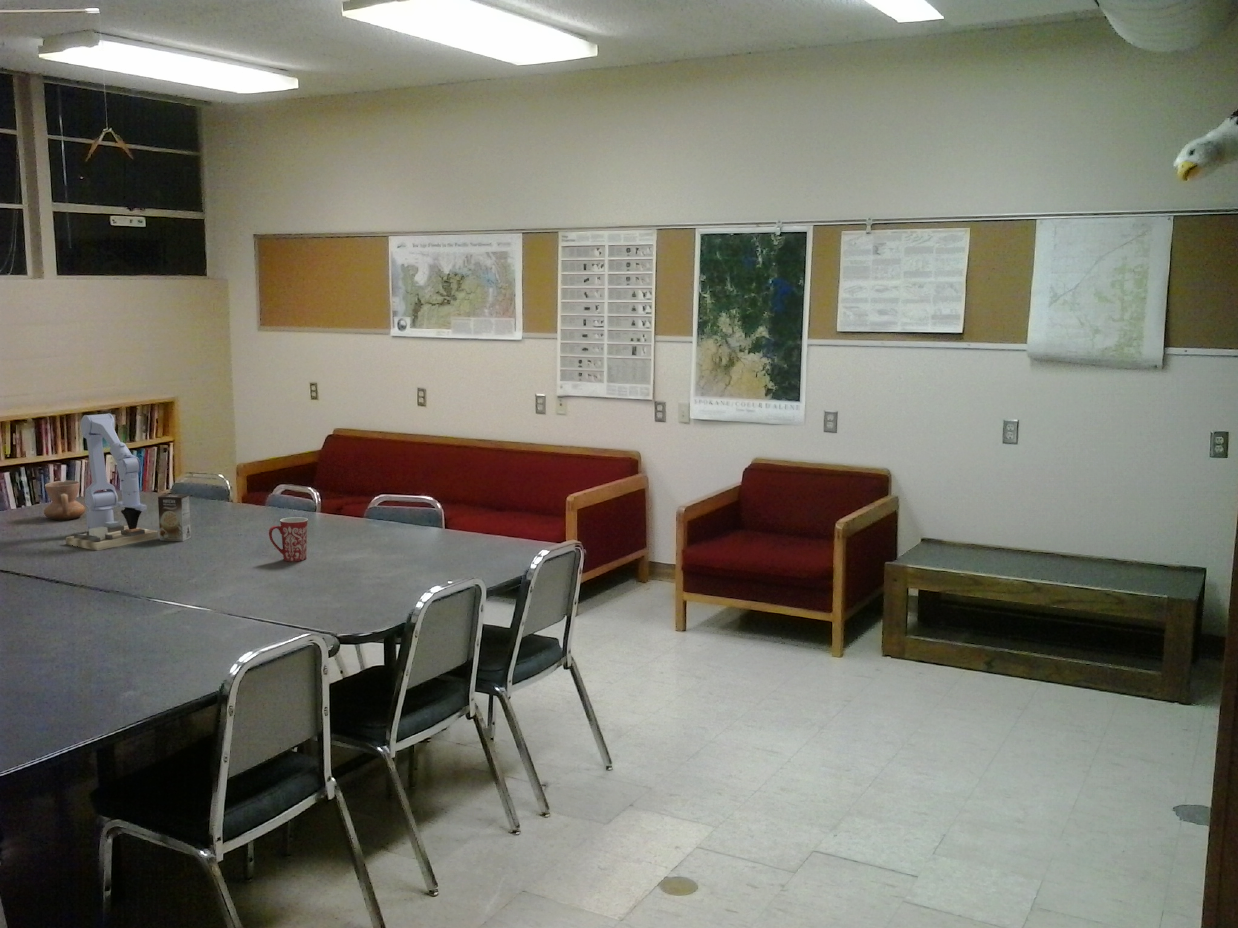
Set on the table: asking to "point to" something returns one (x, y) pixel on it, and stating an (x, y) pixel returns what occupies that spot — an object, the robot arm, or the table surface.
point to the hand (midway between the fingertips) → (132, 528)
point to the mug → (292, 538)
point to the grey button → (112, 524)
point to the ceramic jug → (63, 500)
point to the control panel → (111, 538)
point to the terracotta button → (132, 529)
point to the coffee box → (174, 517)
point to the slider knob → (98, 532)
